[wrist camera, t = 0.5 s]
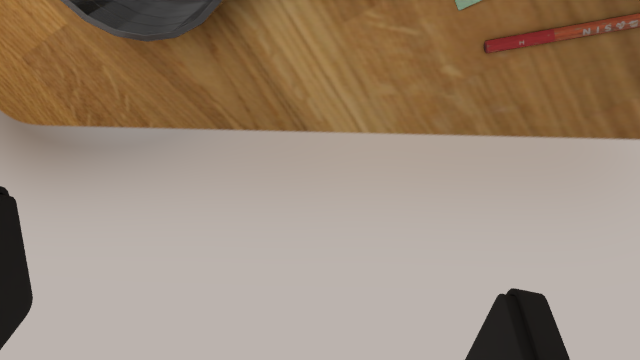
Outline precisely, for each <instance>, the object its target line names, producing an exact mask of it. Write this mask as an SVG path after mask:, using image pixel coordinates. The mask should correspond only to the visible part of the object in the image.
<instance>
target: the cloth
mask: <svg viewBox="0 0 640 360" xmlns="http://www.w3.org/2000/svg"><path fill="white" fill-rule="evenodd" d="M479 1H481V0H455V2H456V5H457V8H458V10H461V9H464V8H466V7H468V6H470V5H472V4H475V3H477V2H479Z"/></svg>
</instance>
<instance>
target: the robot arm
mask: <svg viewBox="0 0 640 360" xmlns="http://www.w3.org/2000/svg"><path fill="white" fill-rule="evenodd" d="M32 299H33V297H32V290H31V284H30V278H29V273H28V267H27V262H26V256H25V250H24V244H23V238H22V233H21V227H20V221H19V215H18V210H17V204H16V200H15V199H14V198H13V197H11V196H9V194H8V191H7V190H6V189H5V188H4V187H1V186H0V350H1V348H2V347H3V345H4V344H5V343H6V342H7V340H8V339H9V338H10V337H11V335H12V334H13V333H14V331H15V330H16V328H17V327H18V326H19V325H20V323H21V322H22V321H23V320H24V318H25V317H26V315H27V314H28V312H29V310H30V308H31V305H32ZM465 360H570V359H569V356H568V354H567V351H566V348H565V346H564V343H563V341H562V338H561V336H560V333H559V331H558V328H557V325H556V322H555V320H554V317H553V315H552V312H551V310H550V307H549V305H548V302H547V300H546V298H545V296H544V295H542V294H539V293H534V292H529V291H524V290H519V289H510V290H509V291H508V292H507V294H506V295H505V294H499V295H498V297H497V298H496V300H495V302H494V304H493V306H492V308H491V310H490V312H489V314H488V316H487V318H486V320H485V322H484V324H483V325H482V328H481V330H480V331H479V333H478V335H477V338H476V339H475V341H474V343H473V345H472V347H471V349H470V351H469V353H468V355H467V357H466V359H465Z"/></svg>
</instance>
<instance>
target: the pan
mask: <svg viewBox="0 0 640 360" xmlns="http://www.w3.org/2000/svg"><path fill="white" fill-rule="evenodd" d="M61 1H62V2H63V3H64V4H66V5H67V6H68V7H69V8H70V9H71V10H73V11H74V12H75V13H76V14H77V15H78V16H80V17H81V18H82V19H83V20H85V21H86V22H88V23H90V24H92V25H94V26H96V27H98V28H100V29H102V30H104V31H106V32H108V33H110V34H113V35H115V36H119V37H124V38H130V39H135V40H141V41H155V40H162V39H169V38H176V37H178V36H180V35H182V34H184V33H186V32H188V31H189V30H191V29H193V28H195V27H197V26H199V25H201V24H202V23H203V22H204V21H205V20H206V19H208V18H209V17H210V16H211V15H212V14H213V13H214V12H215V11H216V10H217V9H218V8H219V7H220V5H221V4H222V3H223V2H224V1H225V0H61Z"/></svg>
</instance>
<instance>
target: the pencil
mask: <svg viewBox="0 0 640 360" xmlns="http://www.w3.org/2000/svg"><path fill="white" fill-rule="evenodd" d="M637 27H640V13H638V14H633V15H627V16H621V17H616V18H610V19H605V20H599V21H594V22H588V23H582V24H577V25H571V26H566V27H560V28H555V29H549V30H543V31H538V32H532V33H527V34H521V35H515V36H510V37H504V38H499V39H493V40H488V41H485V43H484V50H485V52H486V53H491V52H497V51H503V50H509V49H514V48H520V47H526V46H532V45H538V44H544V43H549V42H555V41H561V40H567V39H573V38H578V37H584V36H590V35H596V34H602V33H608V32H613V31H619V30H625V29H631V28H637Z"/></svg>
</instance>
